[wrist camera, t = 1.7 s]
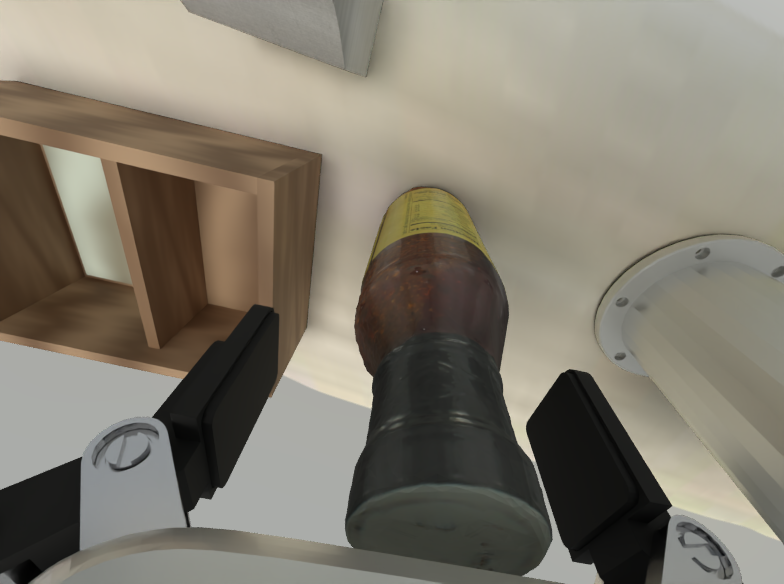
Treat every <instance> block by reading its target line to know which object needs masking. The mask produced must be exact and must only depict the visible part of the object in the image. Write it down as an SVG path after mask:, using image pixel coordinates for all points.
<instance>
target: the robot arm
mask: <svg viewBox="0 0 784 584" xmlns="http://www.w3.org/2000/svg"><path fill="white" fill-rule="evenodd" d="M595 335H596V338H597V341H598V344H599V345H600V347H601V349H602V350H603V352H604V353H605V355H606V356H607V357H608V358H609V360H610V361H611V362H612V363H614V364H615V365H617V366H618V367H620V368H621V369H623V370H625V371H628V372H630V373H633V374H637V375H641V376H646V377H650V378H651V379H652V381H653V382H654V383H655V384H656V386H657V387H658V388H659V389H660V391H661V392H662V393H663V394H664V396H665V397H666V398H667V399H668V401H669V402H670V403H671V404H672V406H673V407H674V408H675V409H676V411H677V412H678V413H679V414H680V415H681V417H682V418H683V419H684V420H685V422H686V423H687V424H688V425H689V427H690V428H691V429H692V430H693V432H694V433H695V434H696V435H697V437H698V438H699V439H700V440H701V442H702V443H703V444H704V445H705V447H706V448H707V449H708V450H709V452H710V453H711V454H712V455H713V457H714V458H715V459H716V460H717V462H718V463H719V464H720V465H721V467H722V468H723V469H724V470H725V472H726V473H727V474H728V475H729V477H730V478H731V479H732V480H733V482H734V483H735V484H736V485H737V487H738V488H739V489H740V490H741V492H742V493H743V494H744V495H745V497H746V498H747V499H748V500H749V502H750V503H751V504H752V505H753V507H754V508H755V509H756V510H757V512H758V513H759V514H760V515H761V517H762V518H763V519H764V520H765V522H766V523H767V524H768V525H769V527H770V528H771V529H772V530H773V532H774V533H775V534H776V535H777V537H778V538H779V539H780V540H781V541H782V543H783V544H784V254H783V253H781V252H780V251H778V250H777V249H776V248H774V247H772V246H770V245H768V244H765V243H763V242H761V241H758V240H756V239H752V238H748V237H744V236H740V235H722V234H719V235H710V236H702V237H697V238H693V239H689V240H685V241H681V242H678V243H676V244H673V245H671V246H668V247H666V248H663V249H661V250H659V251H657V252H655V253H653V254H652V255H650V256H648V257H646V258H644V259H643V260H641V261H640V262H638V263H637V264H636V265H634V266H633V267H632V268H630V269H629V270H628V271H626V272H625V273H624V274H623V275H622V276H621V277H620V278H619V279H618V280H617V281H616V282H615V283H614V284H613V285H612V287H611V288H610V289H609V291H608V292H607V294H606V295H605V296H604V298H603V300H602V302H601V304H600V306H599V308H598V311H597V315H596V319H595ZM278 350H279V314H278V313H274V308H272V307H268V306H263V305H258V304H254V305H253V306H252V307H251V308H250V309H249V311H248V312H247V313H246V315H245V316H244V317H243V318H242V320H241V321H240V322H239V324H238V325H237V326H236V328H235V329H234V330H233V331H232V333H231V334H230V335H229V337H228V338H227V339H226V341H219V340H217V341H215V342H214V343H213V344H212V345H211V346H210V347H209V348H208V349H207V351H206V352H205V353H204V354H203V355H202V357H201V358H200V359H199V360H198V362H197V363H196V364H195V365H194V366H193V368H192V369H191V370H190V371H189V373H188V374H187V375H186V376H185V378H184V379H183V380H182V381H181V382H180V384H179V385H178V386H177V387H176V389H175V390H174V391H173V392H172V394H171V395H170V396H169V397H168V398H167V400H166V401H165V402H164V403H163V405H162V406H161V407H160V408H159V409H158V411H157V412H156V413H155V414H154V416H153V417H152V418H150V417H135V418H130V419H126V420H123V421H121V422H118V423H116V424H113V425H111V426H110V427H108V428H107V429H105V430H104V431H102V432H101V433H99V434H98V435H97V436H96V437H95V438H94V439H93V440H92V441H91V442H90V443H89V445H88V446H87V448H86V450H85V451H84V453H83V457H80V458H78V459H75V460H73V461H70V462H68V463H65V464H63V465H60V466H58V467H56V468H53V469H51V470H48V471H46V472H43V473H41V474H38V475H36V476H33V477H31V478H29V479H26V480H24V481H21V482H19V483H16V484H14V485H11V486H9V487H6V488H4V489H2V490H0V584H563V583H558V582H552V581H546V580H540V579H534V578H529V577H522V576H517V575H511V574H505V573H499V572H494V571H488V570H482V569H476V568H470V567H464V566H458V565H452V564H446V563H440V562H434V561H428V560H422V559H416V558H410V557H404V556H398V555H392V554H386V553H380V552H373V551H367V550H361V549H355V548H349V547H342V546H336V545H330V544H324V543H318V542H311V541H305V540H299V539H292V538H285V537H278V536H271V535H264V534H257V533H250V532H243V531H236V530H224V529H213V528H202V527H201V528H199V527H197V528H194V527H191V523H190V518H189V513H188V512H189V511H191V510H193V509H194V508H195V506H196V504H197V502H198V500H199V498H205V499H212V497H213V495H214V492H215V491H216V489H217V487H219V488H223V487H224V486H225V484H226V483H227V481H228V479H229V477H230V474H231V473H232V471H233V469H234V467H235V465H236V462H237V460H238V458H239V456H240V454H241V452H242V450H243V448H244V446H245V444H246V442H247V440H248V438H249V436H250V434H251V432H252V430H253V427H254V425H255V423H256V421H257V419H258V417H259V415H260V413H261V411H262V409H263V407H264V405H265V403H266V401H267V399H268V397H269V395H270V393H271V391H272V389H273V386H274V384H275V382H276V379H277V375H278ZM526 432H527V435H528V438H529V442H530V445H531V448H532V451H533V454H534V457H535V460H536V463H537V466H538V469H539V472H540V475H541V478H542V481H543V485H544V488H545V491H546V493H547V497H548V500H549V503H550V506H551V509H552V512H553V515H554V518H555V521H556V524H557V528H558V531H559V534H560V537H561V540H562V542H563V544H564V545H565V546H566V547H567V548H568V550H569V553H570V555H571V559H572V561H573V562H578V563H584V564H592V563H594V564H595V567H596V569H597V575H596V579H595V583H594V584H743V583H742V577H741V573H740V569H739V567H738V565H737V563H736V561H735V559H734V557H733V556H732V554H731V553H730V552H729V550H728V549H727V548H726V546H725V545H724V544H723V543H722V542H721V541H720V540H719V539H718V538H717V537H716V535H714V534H713V533H712V532H711V531H710V530H708V529H707V528H706V527H705V526H704V525H702V524H700V523H699V522H697V521H696V520H694V519H691V518H689V517H687V516H684V515H675V516H673V517H670V515H669V513H668V512H667V510H668V509H669V508H670V507H672V505H671V503H670V501H669V500H668V498H667V497H666V495H665V493H664V492H663V490H662V489H661V487H660V485H659V484H658V482H657V481H656V479H655V477H654V476H653V474H652V472H651V471H650V469H649V468H648V466H647V464H646V463H645V461H644V460H643V458H642V456H641V455H640V453H639V452H638V450H637V448H636V447H635V445H634V443H633V442H632V440H631V439H630V437H629V435H628V434H627V432H626V431H625V429H624V427H623V426H622V424H621V423H620V421H619V419H618V418H617V416H616V414H615V413H614V411H613V410H612V408H611V406H610V405H609V403H608V402H607V400H606V398H605V397H604V395H603V393H602V392H601V390H600V389H599V387H598V385H597V384H596V382H595V381H594V379H593V377H592V376H591V375H590V374H589V373H587V372H582V371H577V370H572V369H569V370H567V371H566V372H565V373H564V372H563V373H561V374H560V376H559V377H558V378H557V380H556V381H555V383H554V384H553V386H552V387H551V388H550V390H549V391H548V393H547V394H546V396H545V397H544V399H543V400H542V401H541V403H540V404H539V406H538V407H537V409H536V410H535V411H534V413H533V414H532V416H531V417H530V419H529V420H528V422H527V425H526Z"/></svg>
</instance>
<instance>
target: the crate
mask: <svg viewBox="0 0 784 584" xmlns="http://www.w3.org/2000/svg"><path fill="white" fill-rule="evenodd" d="M321 159H322V154H318V153H314V152H309V151H305V150H301V149H297V148H293V147H289V146H284V145H280V144H276V143H272V142H268V141H264V140H260V139H255V138H251V137H247V136H243V135H239V134H235V133H230V132H226V131H222V130H218V129H214V128H210V127H205V126H201V125H197V124H193V123H189V122H185V121H180V120H176V119H172V118H168V117H164V116H160V115H155V114H151V113H147V112H143V111H139V110H135V109H130V108H126V107H122V106H118V105H114V104H110V103H105V102H101V101H97V100H93V99H89V98H85V97H80V96H76V95H72V94H68V93H64V92H60V91H55V90H51V89H47V88H43V87H39V86H35V85H31V84H26V83H22V82H18V81H0V341H5V342H10V343H14V344H19V345H24V346H29V347H33V348H38V349H43V350H48V351H53V352H58V353H62V354H67V355H72V356H77V357H81V358H86V359H90V360H95V361H100V362H105V363H110V364H114V365H119V366H124V367H128V368H133V369H138V370H143V371H148V372H152V373H157V374H162V375H166V376H171V377H176V378H181V379H184V378H185V376H186V375H187V374H188V373H189V371H190V370H191V369H192V368H193V366H194V365H195V364H196V363H197V362H198V360H199V359H200V358H201V357H202V355H203V354H204V353H205V352H206V351H207V349H208V348H209V347H210V346H211V345H212V344H213V343H214V342H215V341H217V340H219V341H226V339H227V338H228V337H229V335H230V334H231V333H232V331H233V330H234V329H235V328H236V326H237V325H238V324H239V322H240V321H241V320H242V318H243V317H244V316H245V315H246V313H247V312H248V311H249V309H250V308H251V307H252V306H253V305H254V304H258V305H263V306H268V307H272V308H274V313H278V314H279V350H278V375H277V379H276V382H275V384H274V386H273V389H272V391H271V393H270V395H269V397H272V395H273V393H274V391H275V389H276V387H277V385H278V383H279V381H280V379H281V377H282V375H283V373H284V371H285V369H286V367H287V365H288V363H289V361H290V359H291V357H292V355H293V354H294V352H295V350H296V348H297V346H298V344H299V342H300V340H301V338H302V336H303V334H304V332H305V330H306V328H307V318H308V307H309V296H310V284H311V273H312V262H313V250H314V239H315V228H316V216H317V205H318V193H319V182H320V171H321Z"/></svg>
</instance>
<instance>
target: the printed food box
mask: <svg viewBox="0 0 784 584" xmlns="http://www.w3.org/2000/svg"><path fill="white" fill-rule="evenodd" d="M180 1H181V2H182V3H183V5H184V6H185V7H186V9H187V10H188V11H189V12H190V13H193V14H196V15H198V16H201V17H204V18H206V19H209V20H212V21H214V22H217V23H220V24H223V25H225V26H228V27H231V28H233V29H236V30H239V31H241V32H244V33H247V34H249V35H252V36H255V37H257V38H260V39H263V40H265V41H268V42H271V43H274V44H276V45H279V46H282V47H284V48H287V49H290V50H292V51H295V52H298V53H300V54H303V55H306V56H308V57H311V58H314V59H317V60H319V61H322V62H325V63H327V64H330V65H333V66H335V67H338V68H341V69H343V70H346V71H349V72H352V73H355V74H358V75H361V76H364V77H366V75H367V71H368V66H369V62H370V57H371V53H372V48H373V44H374V40H375V35H376V31H377V26H378V22H379V17H380V13H381V8H382V4H383V0H180Z"/></svg>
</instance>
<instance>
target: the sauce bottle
mask: <svg viewBox="0 0 784 584" xmlns="http://www.w3.org/2000/svg"><path fill="white" fill-rule="evenodd" d="M508 318H509V308H508V301H507V296H506V292H505V288H504V285H503V283H502V281H501V279H500V276H499V274H498V272H497V270H496V269H495V267H494V265H493V263H492V261H491V259H490V257H489V255H488V253H487V251H486V249H485V247H484V245H483V243H482V241H481V239H480V237H479V234H478V232H477V230H476V228H475V226H474V224H473V222H472V220H471V218H470V216H469V214H468V212H467V210H466V208H465V207H464V206H463V204H462V203H461V202H460V201H459V200H458V199H456V198H455V197H454V196H453V195H452V194H450V193H448V192H445V191H443V190H441V189H436V188H426V187H416V188H412V189H411V190H410V191H408V192H406V193H404V194H403V195H401V196H400V197H399V198H398V199H396V200H395V201H394V202H393V203H392V204H391V205H390V206H389V208H388V210H387V212H386V214H385V215H384V217H383V219H382V222H381V224H380V227H379V231H378V234H377V237H376V240H375V243H374V246H373V249H372V253H371V256H370V259H369V262H368V265H367V268H366V271H365V275H364V278H363V281H362V286H361V295H360V296H359V302H358V305H357V308H356V315H355V326H354V327H355V335H356V342H357V343H358V346H359V352H360V354H361V356H362V358H363V361H364V365H365V367H366V369H367V371H368V372H369V373H370V374H371V375H372V376H373V383H372V393H373V402H372V411H371V416H370V417H371V418H370V422H369V430H368V434H367V441H366V446H365V448H364V450H363V452H362V453H361V455H360V457H359V459H358V462H357V464H356V466H355V470H354V476H353V482H352V486H351V490H350V495H349V501H348V508H347V514H346V519H345V531H346V536H347V539H348V542H349V543H350V544H351V546H352V547H353V548H355V549H361V550H367V551H373V552H380V553H386V554H392V555H398V556H404V557H410V558H416V559H422V560H428V561H434V562H440V563H446V564H452V565H458V566H464V567H470V568H476V569H482V570H488V571H494V572H499V573H505V574H511V575H517V576H523V575H525V574H527V573H528V572H529V571H531V570H532V569H534V568H536V567H537V566H538V565H539V564H540V562H541V561H542V560H543V558H544V556H545V555H546V552H547V550H548V548H549V546H550V544H551V542H552V528H551V524H550V519H549V515H548V512H547V509H546V506H545V502H544V498H543V493H542V489H541V487H540V484H539V481H538V477H537V474H536V471H535V468H534V465H533V463H532V462H531V460H530V458H529V457H528V456H527V455H526V454H525V452H524V451H523V450H522V448H521V447H520V446H519V445H518V443H517V441H516V437H515V434H514V430H513V428H512V425H511V420H510V416H509V413H508V411H507V407H506V404H505V400H504V397H503V383H502V378H501V375H500V373H499V372H500V366H501V360H502V354H503V348H504V342H505V336H506V330H507V324H508Z"/></svg>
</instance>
